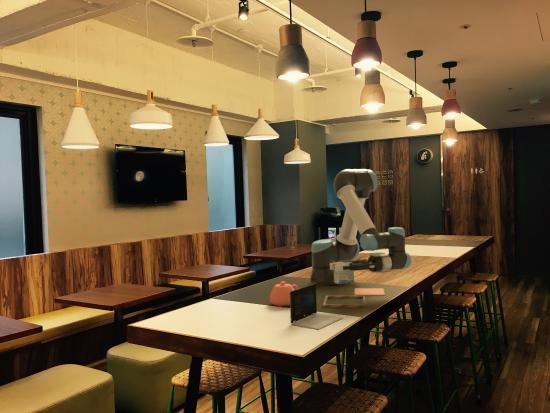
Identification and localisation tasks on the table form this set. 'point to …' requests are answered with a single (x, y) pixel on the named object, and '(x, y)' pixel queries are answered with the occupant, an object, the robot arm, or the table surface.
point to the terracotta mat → (369, 291)
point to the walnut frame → (343, 304)
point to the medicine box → (343, 275)
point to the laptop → (308, 309)
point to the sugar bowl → (281, 294)
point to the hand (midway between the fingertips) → (333, 267)
